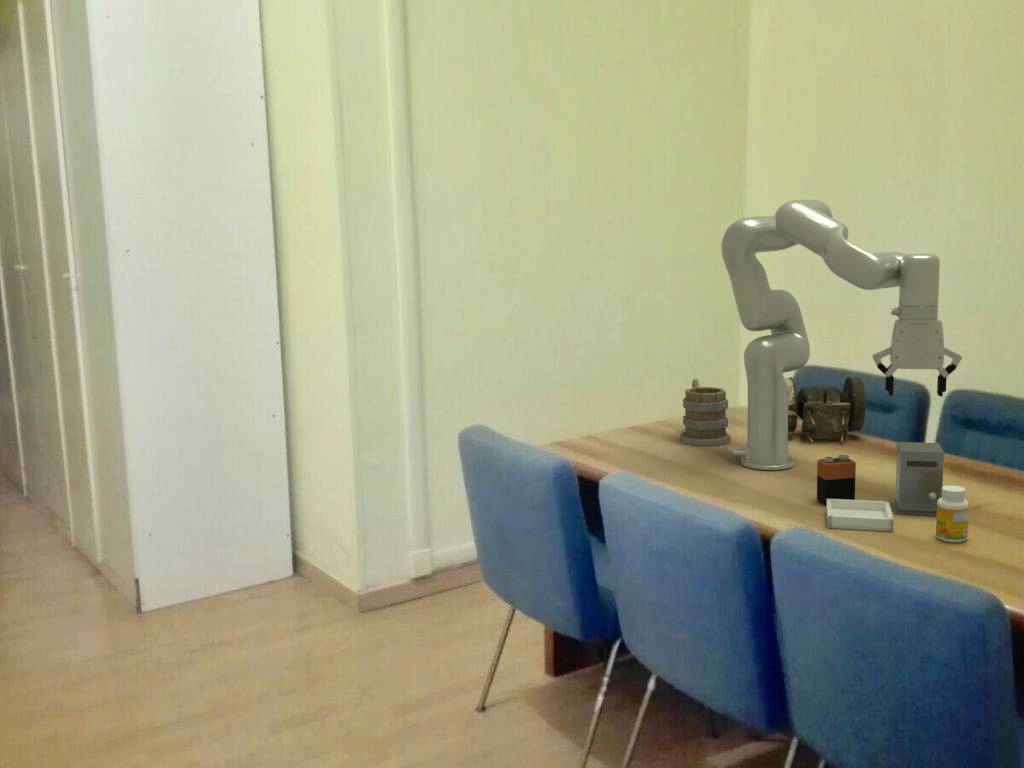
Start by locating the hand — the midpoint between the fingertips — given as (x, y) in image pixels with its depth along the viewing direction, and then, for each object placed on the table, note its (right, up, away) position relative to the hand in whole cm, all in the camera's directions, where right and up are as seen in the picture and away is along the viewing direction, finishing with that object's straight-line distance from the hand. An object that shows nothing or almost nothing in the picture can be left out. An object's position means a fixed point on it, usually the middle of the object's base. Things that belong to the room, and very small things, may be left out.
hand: (915, 394), depth 207 cm
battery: (-16, -23, +2) cm, 28 cm away
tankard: (-32, -13, +63) cm, 72 cm away
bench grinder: (-2, -13, +58) cm, 60 cm away
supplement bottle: (-3, -27, -23) cm, 35 cm away
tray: (-16, -25, -11) cm, 31 cm away
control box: (-1, -23, -4) cm, 24 cm away
